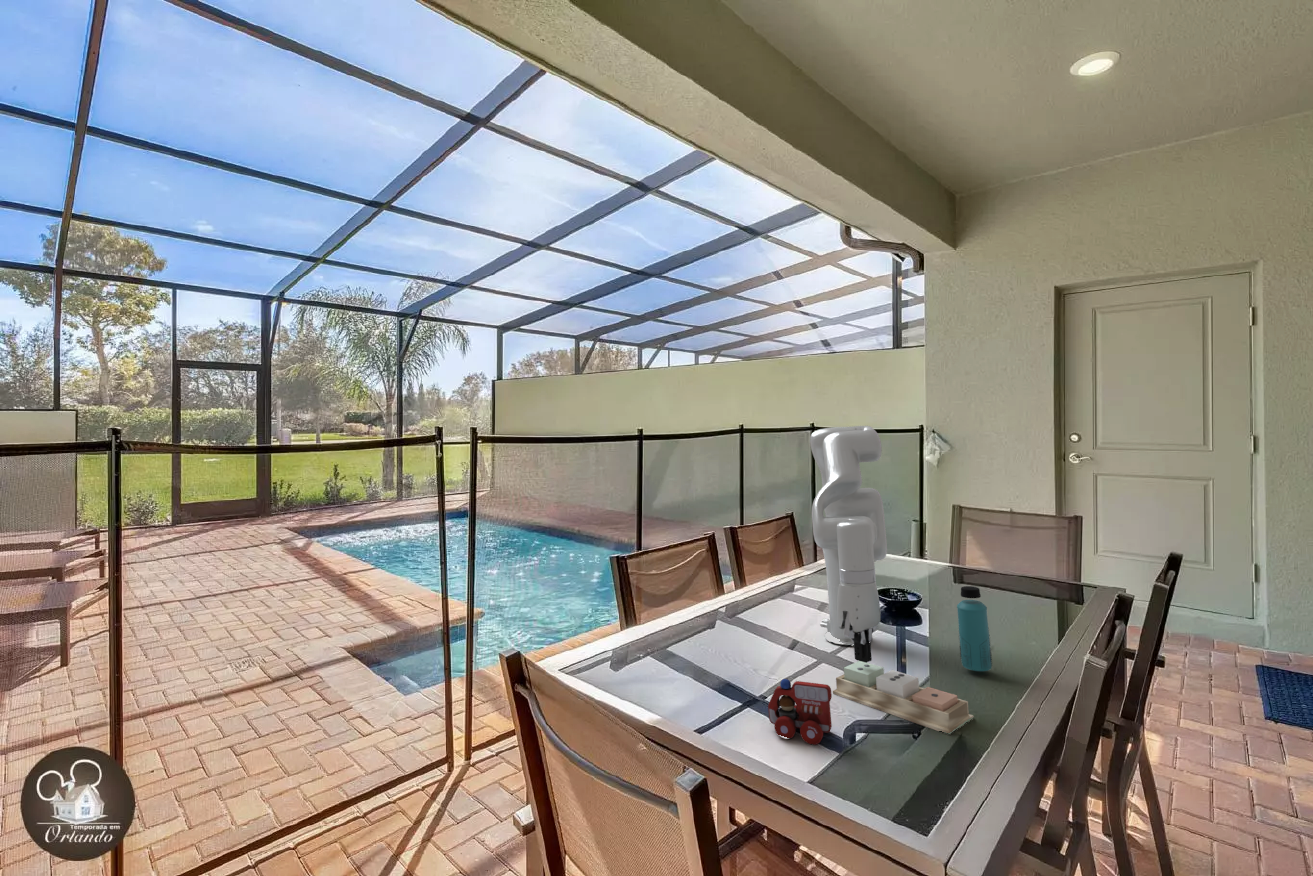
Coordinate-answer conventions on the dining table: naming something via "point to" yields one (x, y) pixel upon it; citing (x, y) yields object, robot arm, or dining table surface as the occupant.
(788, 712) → the toy fire truck
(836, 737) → the dining table surface
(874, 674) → the two dot tile
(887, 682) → the three dot tile
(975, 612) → the beverage bottle
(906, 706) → the tile board
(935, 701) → the one dot tile
